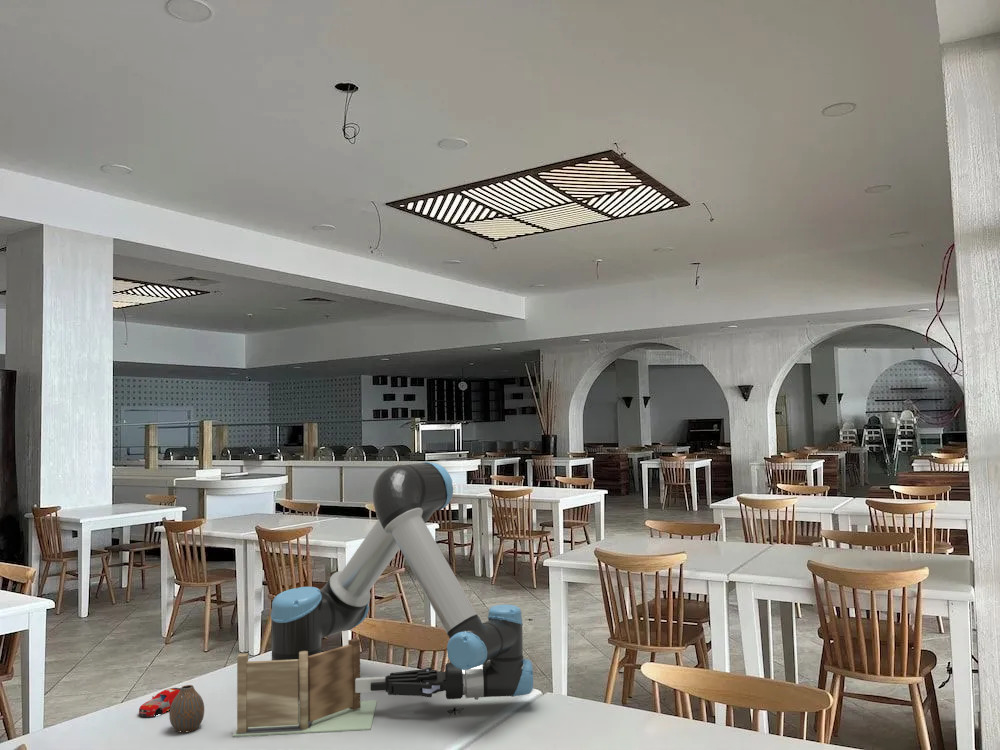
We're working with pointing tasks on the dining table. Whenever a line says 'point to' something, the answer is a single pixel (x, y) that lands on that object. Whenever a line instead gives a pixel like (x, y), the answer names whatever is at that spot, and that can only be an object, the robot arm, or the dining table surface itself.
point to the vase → (186, 709)
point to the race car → (159, 703)
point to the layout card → (324, 723)
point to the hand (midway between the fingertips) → (355, 685)
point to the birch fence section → (272, 692)
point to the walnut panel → (333, 680)
